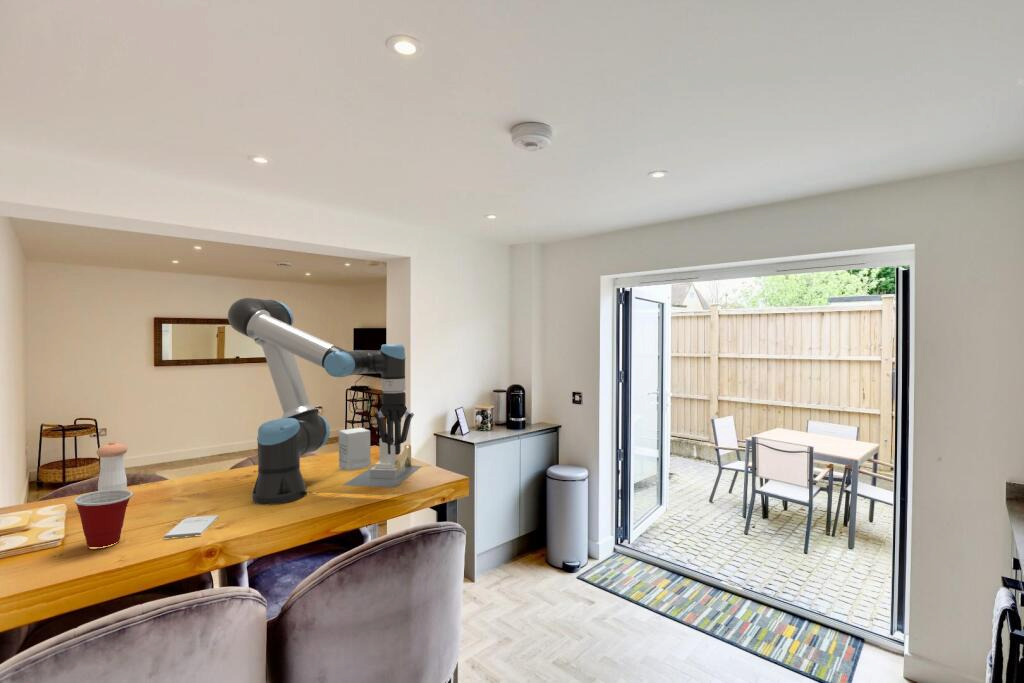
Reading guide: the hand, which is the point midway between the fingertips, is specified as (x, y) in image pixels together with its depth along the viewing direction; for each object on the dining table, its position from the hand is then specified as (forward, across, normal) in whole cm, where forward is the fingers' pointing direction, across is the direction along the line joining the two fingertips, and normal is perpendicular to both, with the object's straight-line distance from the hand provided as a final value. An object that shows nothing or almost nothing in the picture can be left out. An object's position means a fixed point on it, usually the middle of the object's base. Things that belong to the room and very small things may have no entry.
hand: (394, 464), depth 159 cm
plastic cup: (+8, -52, -50) cm, 73 cm away
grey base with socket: (+8, -7, +10) cm, 15 cm away
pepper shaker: (+8, -76, -26) cm, 81 cm away
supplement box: (+8, -23, +20) cm, 32 cm away
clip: (+6, -1, +11) cm, 12 cm away
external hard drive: (+9, -40, -38) cm, 56 cm away
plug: (+7, -6, +10) cm, 13 cm away
